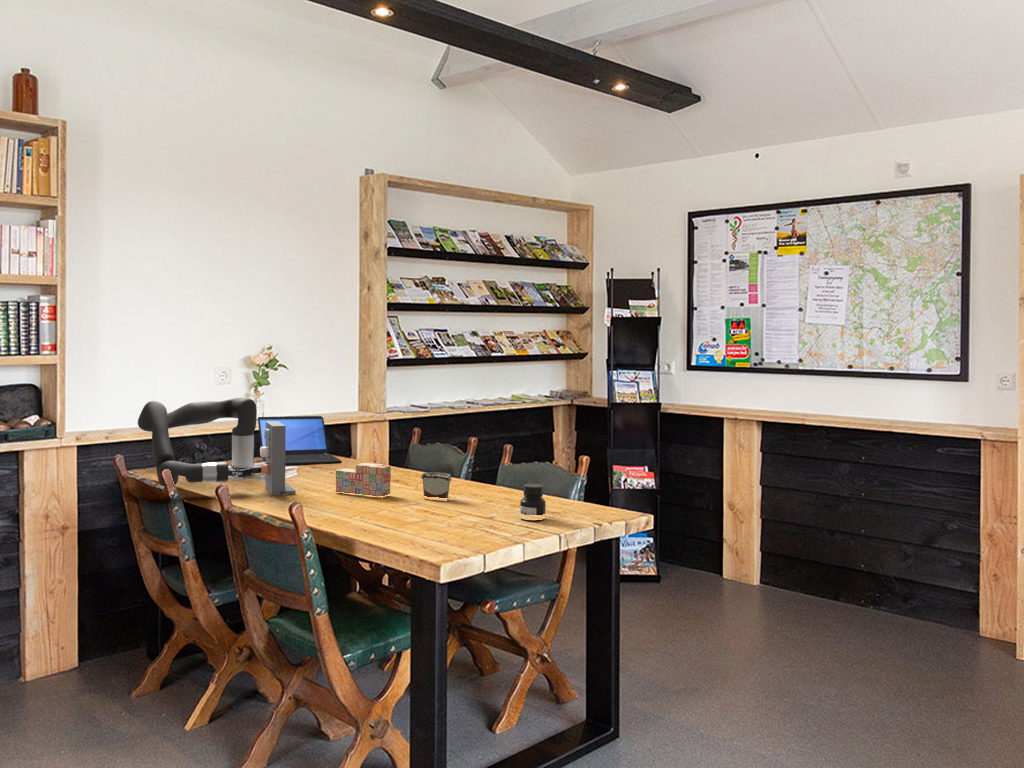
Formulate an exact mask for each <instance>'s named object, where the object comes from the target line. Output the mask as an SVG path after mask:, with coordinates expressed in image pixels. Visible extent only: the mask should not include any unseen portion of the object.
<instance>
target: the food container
mask: <svg viewBox="0 0 1024 768" xmlns="http://www.w3.org/2000/svg"><path fill="white" fill-rule="evenodd" d="M420 479H421V480H422V488H423V489H422V490H423V497H424V496H427V497H439V498H448V499H449V494H450V493H449V490H450V484H451V483H450V482H452V481H453V480H452V475H451V474H450V473H447V472H437V471H434V472H424V473H422V474H421V477H420Z"/></svg>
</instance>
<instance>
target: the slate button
mask: <svg viewBox="0 0 1024 768" xmlns="http://www.w3.org/2000/svg"><path fill="white" fill-rule="evenodd" d="M264 439H270V429H264Z"/></svg>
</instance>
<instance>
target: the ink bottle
mask: <svg viewBox="0 0 1024 768" xmlns="http://www.w3.org/2000/svg"><path fill="white" fill-rule="evenodd" d="M543 493H544V485H543V484H540V483H539V484H538V483H525V484H524V485H523V496H524V497H522V499H520V501H519V503H520V504H519V514H520V513H521V514H524V515H543V514H545V515H546V508H547V507H546V506H547V505H546V500H545V499H544V497H543V496H544V494H543Z"/></svg>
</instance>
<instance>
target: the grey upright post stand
mask: <svg viewBox="0 0 1024 768" xmlns="http://www.w3.org/2000/svg"><path fill="white" fill-rule="evenodd" d="M266 429H270V439H266V447H270V457H266V460H265V463H264V464H270V474H268V475H264V476H265V477H264V478H265V479H264V481H265V482H264V483H265V485H264V486H265V490H266V491H267V492H268V493H269V494H270V495H271V496H272V495H278V496H284V495H283V494H296V492H297V491H296V489H294V487H292V486H291V485H290V484H289V483H286V466H285V442H286V426H285V425H284V424H282V423H280V422H279V421H266Z"/></svg>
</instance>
